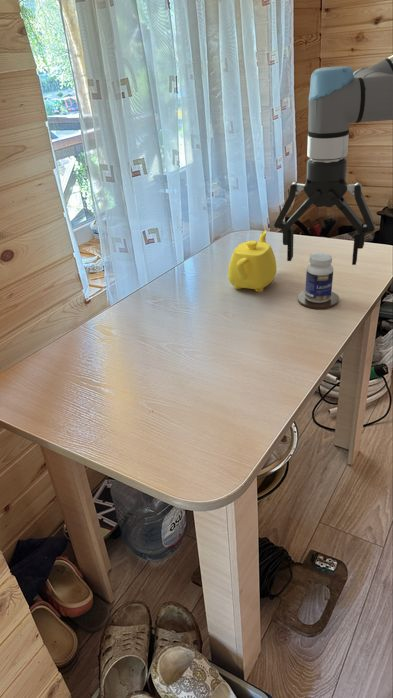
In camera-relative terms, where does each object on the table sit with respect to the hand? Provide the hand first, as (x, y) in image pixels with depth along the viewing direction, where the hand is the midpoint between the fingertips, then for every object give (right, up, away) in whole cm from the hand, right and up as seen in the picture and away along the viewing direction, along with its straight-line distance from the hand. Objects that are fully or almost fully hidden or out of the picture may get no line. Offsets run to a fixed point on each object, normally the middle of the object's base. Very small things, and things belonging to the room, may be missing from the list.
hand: (321, 260), depth 111 cm
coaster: (0, -8, +5) cm, 10 cm away
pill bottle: (0, -8, +5) cm, 9 cm away
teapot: (-13, -3, +15) cm, 20 cm away
